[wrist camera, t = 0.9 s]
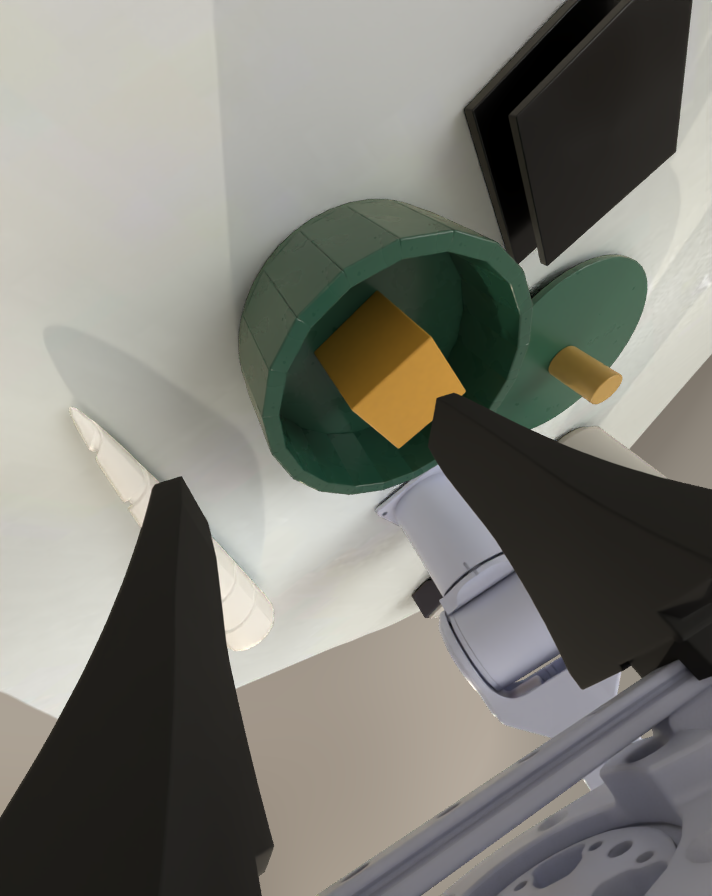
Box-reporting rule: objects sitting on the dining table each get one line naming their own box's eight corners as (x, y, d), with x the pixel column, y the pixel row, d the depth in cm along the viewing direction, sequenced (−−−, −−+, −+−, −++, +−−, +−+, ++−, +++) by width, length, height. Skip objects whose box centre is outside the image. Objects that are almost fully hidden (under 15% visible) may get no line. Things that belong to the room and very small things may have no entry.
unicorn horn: (162, 376, 17) (170, 445, 14) (267, 586, 34) (281, 637, 31) (45, 405, 16) (26, 487, 12) (216, 608, 33) (225, 663, 30)
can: (605, 411, 39) (724, 495, 31) (579, 457, 44) (674, 537, 36) (549, 436, 37) (659, 530, 29) (529, 480, 43) (617, 569, 35)
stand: (636, 146, 19) (683, 153, 17) (509, 262, 20) (542, 278, 19) (642, -80, 13) (715, -101, 11) (463, 109, 15) (504, 113, 13)
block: (415, 343, 21) (467, 391, 18) (359, 394, 22) (398, 449, 19) (376, 288, 18) (431, 336, 15) (312, 352, 19) (351, 410, 15)
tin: (493, 332, 24) (552, 373, 20) (344, 463, 26) (374, 518, 23) (400, 111, 14) (484, 123, 10) (175, 358, 16) (187, 429, 13)
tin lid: (632, 343, 32) (690, 374, 28) (498, 448, 34) (537, 488, 31) (636, 195, 21) (729, 217, 18) (443, 365, 24) (493, 412, 21)
